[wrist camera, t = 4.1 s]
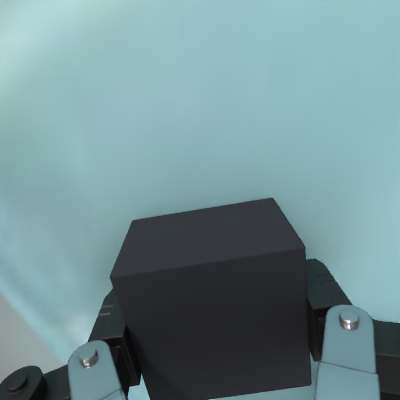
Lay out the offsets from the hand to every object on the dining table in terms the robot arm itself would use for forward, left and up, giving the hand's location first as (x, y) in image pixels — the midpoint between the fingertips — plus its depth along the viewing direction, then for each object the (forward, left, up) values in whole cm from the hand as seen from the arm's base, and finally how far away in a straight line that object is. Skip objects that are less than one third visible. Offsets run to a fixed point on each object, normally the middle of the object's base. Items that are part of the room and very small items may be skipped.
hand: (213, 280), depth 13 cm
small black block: (0, 0, -1) cm, 1 cm away
